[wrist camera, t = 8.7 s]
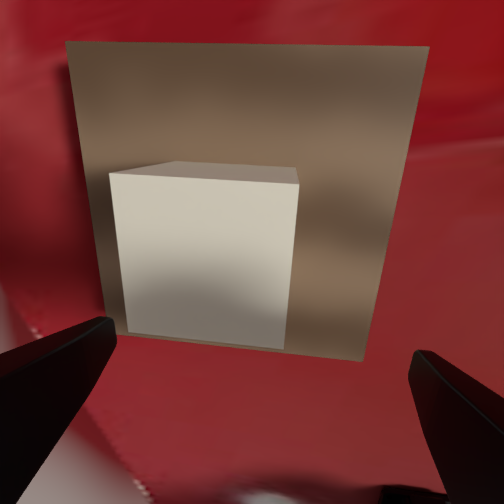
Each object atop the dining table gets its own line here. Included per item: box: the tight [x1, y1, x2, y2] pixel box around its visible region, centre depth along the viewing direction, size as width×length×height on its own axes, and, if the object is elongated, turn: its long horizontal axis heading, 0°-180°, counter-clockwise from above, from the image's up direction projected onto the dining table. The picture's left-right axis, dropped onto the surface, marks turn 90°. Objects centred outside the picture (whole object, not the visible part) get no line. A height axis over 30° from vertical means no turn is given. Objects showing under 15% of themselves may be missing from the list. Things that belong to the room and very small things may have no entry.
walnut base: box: [65, 41, 430, 362], centre depth 17 cm, size 16×16×3 cm
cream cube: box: [109, 161, 299, 349], centre depth 13 cm, size 6×6×6 cm
